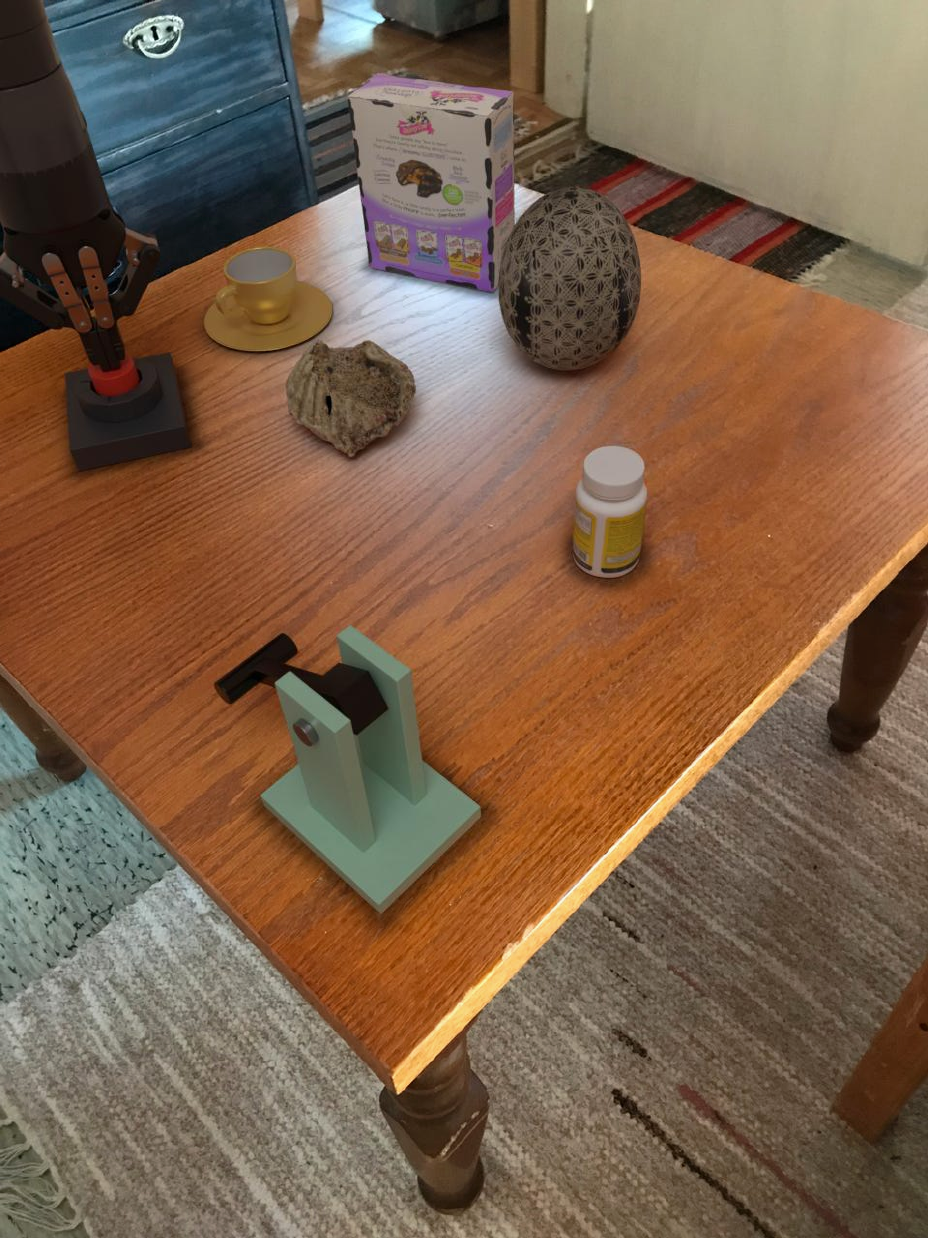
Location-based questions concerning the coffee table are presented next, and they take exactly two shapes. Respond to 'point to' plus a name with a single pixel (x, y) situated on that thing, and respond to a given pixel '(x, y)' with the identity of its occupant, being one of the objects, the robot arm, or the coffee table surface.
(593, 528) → the supplement bottle
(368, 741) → the bracket
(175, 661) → the coffee table surface
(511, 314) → the decorative egg
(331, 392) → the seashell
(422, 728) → the coffee table surface
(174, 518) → the coffee table surface
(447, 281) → the candy box
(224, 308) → the cup
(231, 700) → the lever
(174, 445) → the button housing
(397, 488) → the coffee table surface
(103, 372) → the button
